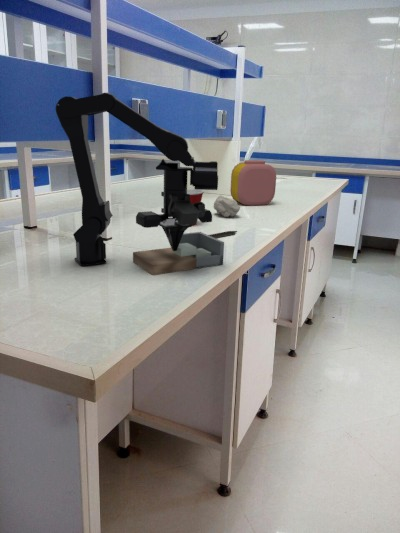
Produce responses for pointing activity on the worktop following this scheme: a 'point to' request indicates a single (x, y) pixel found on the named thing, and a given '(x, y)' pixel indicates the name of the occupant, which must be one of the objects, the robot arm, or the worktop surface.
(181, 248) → the tile
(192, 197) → the plastic cup
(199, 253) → the tile
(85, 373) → the worktop surface
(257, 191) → the alarm clock
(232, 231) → the knife
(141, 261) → the walnut ledge
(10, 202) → the worktop surface
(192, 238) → the box
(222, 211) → the fossil replica
